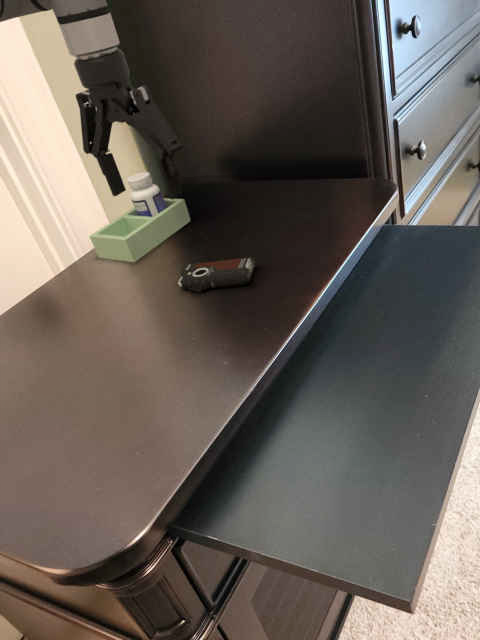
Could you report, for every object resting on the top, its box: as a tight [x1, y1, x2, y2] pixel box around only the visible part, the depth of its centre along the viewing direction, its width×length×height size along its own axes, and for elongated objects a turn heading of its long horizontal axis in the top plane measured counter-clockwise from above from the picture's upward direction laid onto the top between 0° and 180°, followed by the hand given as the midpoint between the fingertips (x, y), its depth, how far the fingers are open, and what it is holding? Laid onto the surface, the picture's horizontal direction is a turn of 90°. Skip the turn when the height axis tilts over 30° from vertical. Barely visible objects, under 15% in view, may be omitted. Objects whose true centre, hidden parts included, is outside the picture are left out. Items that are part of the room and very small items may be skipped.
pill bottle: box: [127, 171, 167, 217], centre depth 93 cm, size 5×5×9 cm
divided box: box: [89, 197, 192, 263], centre depth 93 cm, size 8×16×4 cm, turn 152°
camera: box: [177, 256, 256, 293], centre depth 77 cm, size 6×3×11 cm
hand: (147, 194), depth 92 cm, fingers open, 13 cm apart
